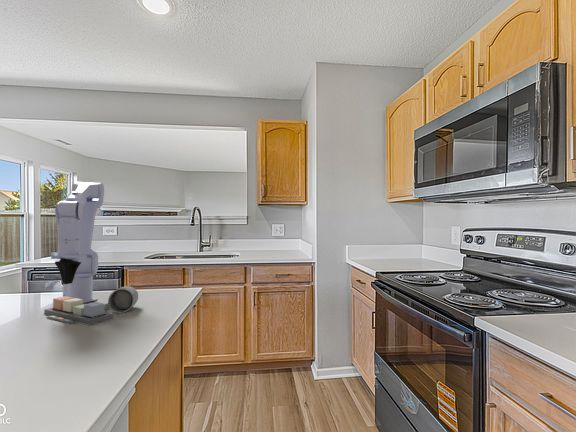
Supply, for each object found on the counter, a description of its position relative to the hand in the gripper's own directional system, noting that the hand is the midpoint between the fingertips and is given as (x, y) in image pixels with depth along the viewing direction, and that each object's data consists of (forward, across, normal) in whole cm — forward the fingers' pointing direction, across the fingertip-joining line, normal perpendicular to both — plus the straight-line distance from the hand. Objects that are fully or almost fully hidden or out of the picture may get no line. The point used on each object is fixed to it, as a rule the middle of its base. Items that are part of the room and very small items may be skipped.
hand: (67, 283), depth 105 cm
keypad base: (+9, +6, 0) cm, 11 cm away
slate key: (+8, +13, 0) cm, 15 cm away
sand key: (+8, +3, 0) cm, 8 cm away
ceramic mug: (+10, +10, +10) cm, 18 cm away
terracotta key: (+8, -2, 0) cm, 8 cm away
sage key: (+9, +8, 0) cm, 12 cm away
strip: (+9, +6, -5) cm, 12 cm away
